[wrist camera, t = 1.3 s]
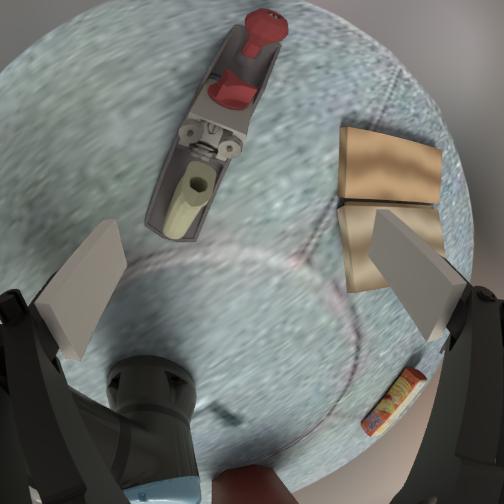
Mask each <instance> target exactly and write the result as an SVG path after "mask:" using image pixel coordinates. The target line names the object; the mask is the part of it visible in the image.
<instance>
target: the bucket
mask: <svg viewBox="0 0 504 504" xmlns="http://www.w3.org/2000/svg"><path fill="white" fill-rule="evenodd" d="M212 504H299V503H298V502H297V501H296V499H295V498H294V497H293V495H292V494H291V493H290V492H289V490H288V489H287V488H286V486H285V485H284V484H283V482H282V481H281V480H280V478H279V477H278V476H277V474H276V473H275V471H274V470H273V469H272V468H268V467H263V466H259V465H256V464H254V465H250V466H245V467H240V468H235V469H230V470H226V471H224V472H223V473H222V474H221V475H219V476H218V477H217V478H215V479H214V480H213V481H212Z"/></svg>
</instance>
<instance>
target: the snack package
mask: <svg viewBox="0 0 504 504" xmlns="http://www.w3.org/2000/svg"><path fill="white" fill-rule="evenodd" d="M426 382H427V378H426V377H425V375H424V374H422V373H421V372H420V371H419V370H417V369H414V368H408V367H407V368H405V369H404V371H403V372H402V374H401V375H400V377H399V378H398V379H397V381H396V382H395V383H394V384H393V386H392V387H391V388H390V390H389V391H388V392H387V394H386V395H385V396H384V397H383V399H382V400H381V401H380V402H379V404H378V405H377V406H376V407H375V408H374V409H373V411H372V412H371V413H370V414H369V415H368V416H367V417H366V418H365V419H364V420H363V421H362V423H361V427H362V428H363V430H364V431H365V433H366V434H367V435H369V436H371V437H374V436H378V435H381V434H382V433H383V432H384V431H385V430H386V429H387V427H388V426H389V425H390V424H391V423H392V422H393V421H394V420H395V419H396V418H397V417H398V416H399V414H400V413H401V412H402V411H403V410H404V409H405V407H406V406H407V405H408V404H409V403H410V401H411V400H412V399H413V398H414V396H415V395H416V394H417V393H418V392H419V390H420V389H421V388H422V387H423V386H424V384H425V383H426Z"/></svg>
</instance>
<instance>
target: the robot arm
mask: <svg viewBox="0 0 504 504" xmlns="http://www.w3.org/2000/svg"><path fill="white" fill-rule="evenodd" d="M368 257H369V258H370V259H371V261H372V262H373V263H374V265H375V266H376V267H377V269H378V270H379V272H380V273H381V274H382V276H383V277H384V279H385V280H386V281H387V283H388V284H389V286H390V287H391V288H392V290H393V291H394V293H395V294H396V296H397V297H398V299H399V300H400V302H401V303H402V305H403V306H404V308H405V309H406V311H407V312H408V314H409V315H410V317H411V318H412V320H413V321H414V323H415V324H416V326H417V328H418V329H419V331H420V332H421V334H422V335H423V337H424V339H425V340H426V342H429V341H433V340H437V339H440V338H441V336H442V334H443V333H444V331H445V329H446V327H447V329H448V330H449V332H450V334H449V336H448V338H447V340H446V342H445V343H444V345H443V347H442V349H441V350H440V352H439V353H440V354H442V352H443V350H445V354H444V360H443V365H442V371H441V375H440V380H439V385H438V389H437V393H436V397H435V401H434V404H433V408H432V412H431V416H430V418H429V422H428V425H427V428H426V431H425V434H424V437H423V440H422V443H421V446H420V448H419V451H418V454H417V456H416V459H415V461H414V464H413V466H412V469H411V471H410V474H409V476H408V478H407V480H406V482H405V484H404V486H403V487H402V489H401V490H400V491H399V492H398V493H397V494H396V495H395V496H394V498H393V499H392V501H391V502H390V503H389V504H504V300H500V299H497V298H496V296H495V295H494V294H493V292H491V291H490V290H489V289H487V288H485V287H482V286H474V287H473V286H472V285H470V283H469V282H468V281H467V280H466V279H465V278H464V277H463V276H462V275H461V274H460V273H459V272H458V271H456V269H455V268H454V267H453V266H451V264H450V263H449V262H448V261H447V260H446V259H445V258H444V257H443V256H441V255H439V254H438V253H437V252H436V251H435V250H434V249H433V248H432V247H431V246H430V245H429V244H427V243H426V242H425V241H424V240H423V239H422V238H421V237H420V236H419V235H418V234H417V233H415V232H414V231H413V230H412V229H411V228H410V227H409V226H408V225H406V224H405V223H404V222H403V221H402V220H401V219H399V218H398V217H397V216H396V215H395V214H394V213H392V212H391V211H390V210H385V209H377V210H376V216H375V222H374V227H373V233H372V238H371V243H370V248H369V253H368ZM126 267H127V262H126V258H125V254H124V250H123V246H122V242H121V238H120V234H119V229H118V225H117V220H116V219H106V220H103V221H102V222H101V223H100V224H99V225H98V226H97V227H96V228H95V229H94V230H93V231H92V232H91V233H90V235H89V236H88V237H87V238H86V239H85V240H84V241H83V242H82V244H81V245H80V246H79V247H78V248H77V249H76V250H75V252H74V253H73V254H72V255H71V256H70V257H69V259H68V260H67V261H66V262H65V263H64V265H63V266H62V267H61V268H60V269H59V270H58V271H57V272H55V273H54V274H53V275H52V276H51V277H50V278H49V279H48V281H47V282H46V284H44V286H43V287H42V290H40V291H39V292H38V294H37V295H36V296H35V298H34V299H33V300H32V302H31V303H30V305H29V306H27V304H26V302H25V300H24V298H23V296H22V294H21V292H20V290H18V289H11V290H8V291H6V292H5V293H3V294H2V295H0V320H1V322H2V323H3V324H0V504H200V502H201V498H202V497H201V489H200V481H201V479H200V477H199V473H198V468H197V463H196V458H195V453H194V448H193V442H192V437H191V431H190V422H191V418H192V415H193V412H194V408H195V405H196V399H197V396H196V389H195V384H194V381H193V379H192V377H191V376H190V375H189V373H188V372H187V371H186V370H185V369H183V368H182V367H181V366H179V365H177V364H176V363H174V362H172V361H169V360H166V359H163V358H159V357H154V356H136V357H131V358H128V359H125V360H123V361H121V362H119V363H118V364H116V365H115V366H114V367H113V368H112V370H111V371H110V373H109V376H108V381H107V387H106V390H107V397H108V401H109V405H110V408H111V409H109V408H107V407H105V406H103V405H101V404H99V403H98V402H96V401H94V400H92V399H91V398H89V397H87V396H85V395H84V394H82V393H80V392H79V391H77V390H75V389H74V388H72V387H70V386H69V385H68V384H67V381H66V378H65V375H64V372H63V370H62V367H61V364H60V361H59V359H58V358H57V356H56V354H57V352H58V350H59V348H60V350H61V352H62V353H63V355H64V356H65V358H66V359H72V360H78V361H81V360H82V357H83V355H84V353H85V350H86V348H87V346H88V344H89V341H90V339H91V337H92V335H93V333H94V330H95V328H96V326H97V324H98V322H99V320H100V318H101V316H102V314H103V312H104V309H105V307H106V305H107V303H108V301H109V299H110V298H111V296H112V294H113V292H114V290H115V288H116V286H117V284H118V282H119V280H120V278H121V277H122V275H123V273H124V271H125V269H126ZM495 458H496V461H495Z"/></svg>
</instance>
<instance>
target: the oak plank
mask: <svg viewBox="0 0 504 504" xmlns="http://www.w3.org/2000/svg"><path fill="white" fill-rule="evenodd" d="M441 170H442V150H440V149H437V148H434V147H431V146H427V145H424V144H420V143H417V142H413V141H410V140H406V139H402V138H398V137H394V136H390V135H386V134H381V133H377V132H372V131H368V130H363V129H358V128H352V127H341V128H340V152H339V177H338V195H337V196H339V197H343V198H359V199H380V200H397V201H411V202H424V203H436V204H439V196H440V185H441Z"/></svg>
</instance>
